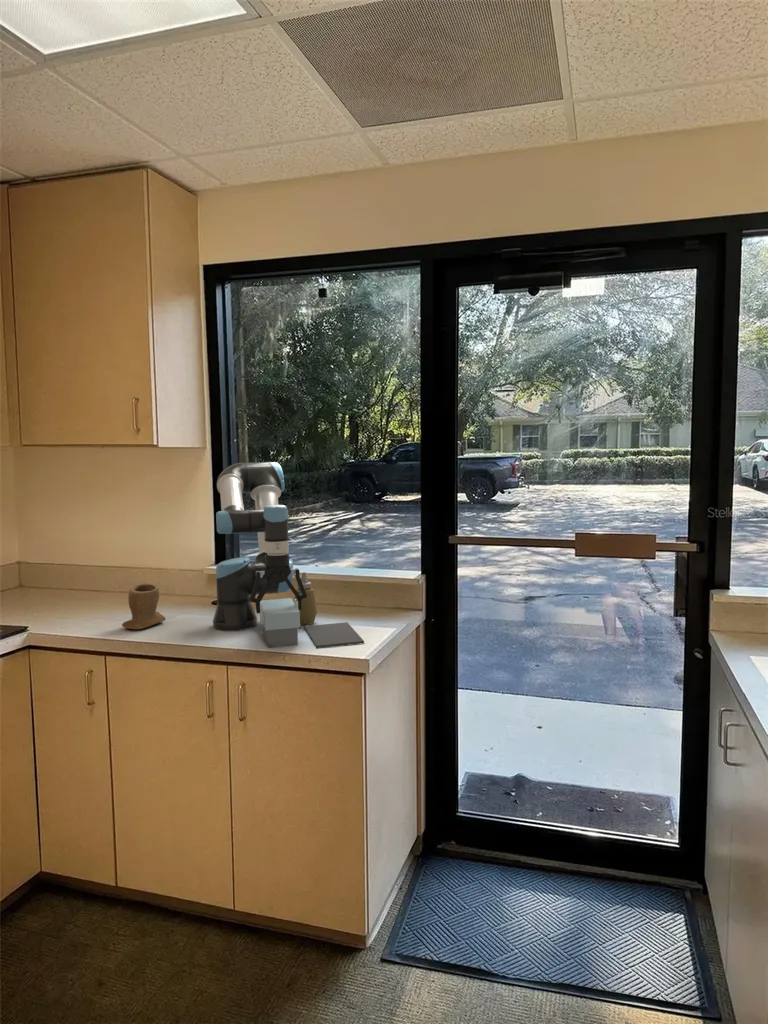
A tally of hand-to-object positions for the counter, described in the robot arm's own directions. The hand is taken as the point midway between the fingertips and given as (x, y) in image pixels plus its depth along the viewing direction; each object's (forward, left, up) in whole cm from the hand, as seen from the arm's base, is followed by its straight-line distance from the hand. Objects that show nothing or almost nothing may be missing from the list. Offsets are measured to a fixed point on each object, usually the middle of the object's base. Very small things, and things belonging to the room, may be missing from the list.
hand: (279, 621), depth 209 cm
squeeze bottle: (-17, +11, -6) cm, 21 cm away
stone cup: (-32, -43, -6) cm, 54 cm away
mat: (+2, +17, -6) cm, 18 cm away
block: (0, 0, 0) cm, 0 cm away
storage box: (0, 0, -6) cm, 6 cm away
